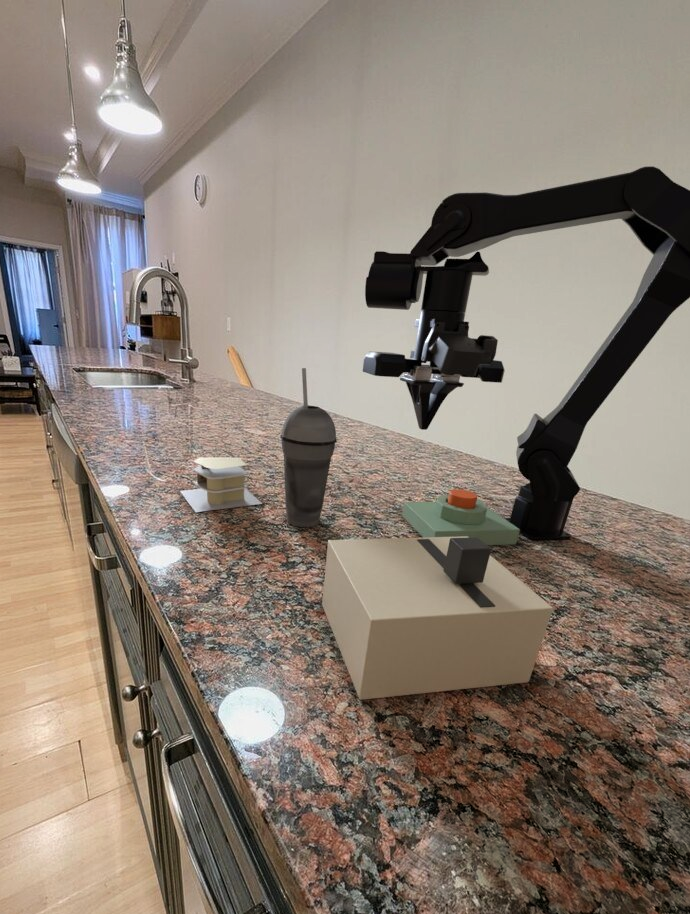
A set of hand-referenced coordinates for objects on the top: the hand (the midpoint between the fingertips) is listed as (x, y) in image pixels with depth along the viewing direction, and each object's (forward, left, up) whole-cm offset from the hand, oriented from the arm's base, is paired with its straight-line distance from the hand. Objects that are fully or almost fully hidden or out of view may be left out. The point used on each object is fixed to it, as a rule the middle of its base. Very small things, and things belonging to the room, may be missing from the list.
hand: (422, 429), depth 65 cm
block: (-3, +9, -12) cm, 15 cm away
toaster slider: (+11, +33, -5) cm, 35 cm away
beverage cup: (+18, +5, -12) cm, 22 cm away
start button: (-3, +9, -8) cm, 13 cm away
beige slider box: (+13, +31, -12) cm, 36 cm away
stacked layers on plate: (+29, -4, -12) cm, 32 cm away
